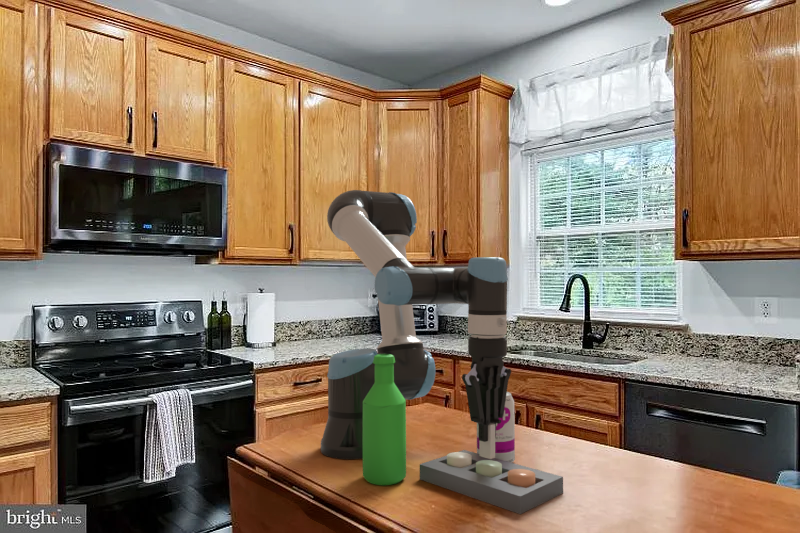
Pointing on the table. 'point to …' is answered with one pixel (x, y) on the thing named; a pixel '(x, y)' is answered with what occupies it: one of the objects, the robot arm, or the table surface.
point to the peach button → (521, 477)
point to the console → (492, 483)
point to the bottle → (384, 427)
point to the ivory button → (459, 459)
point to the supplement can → (504, 433)
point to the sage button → (489, 468)
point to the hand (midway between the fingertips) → (487, 456)
